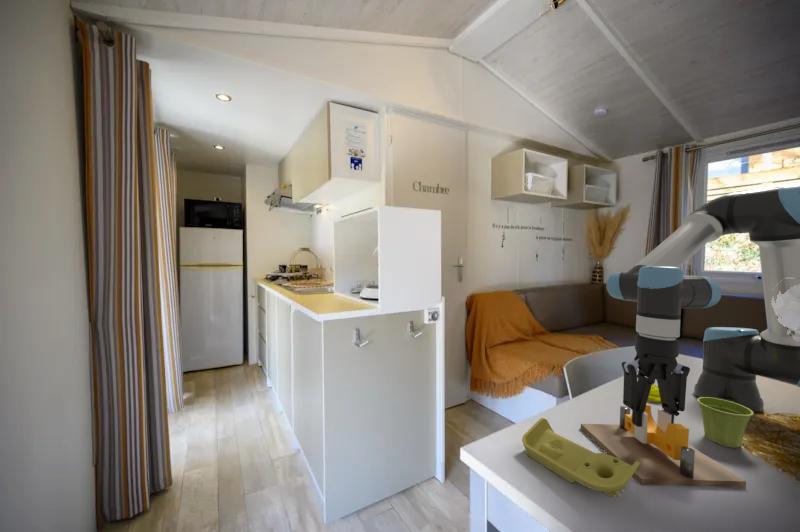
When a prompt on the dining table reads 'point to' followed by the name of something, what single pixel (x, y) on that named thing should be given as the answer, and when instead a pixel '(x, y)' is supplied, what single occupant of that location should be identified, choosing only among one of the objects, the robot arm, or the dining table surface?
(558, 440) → the plastic component
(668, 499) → the dining table surface
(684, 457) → the locating stubs
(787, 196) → the robot arm
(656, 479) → the base plate
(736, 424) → the plant pot
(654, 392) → the gear
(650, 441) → the pipe clamp
